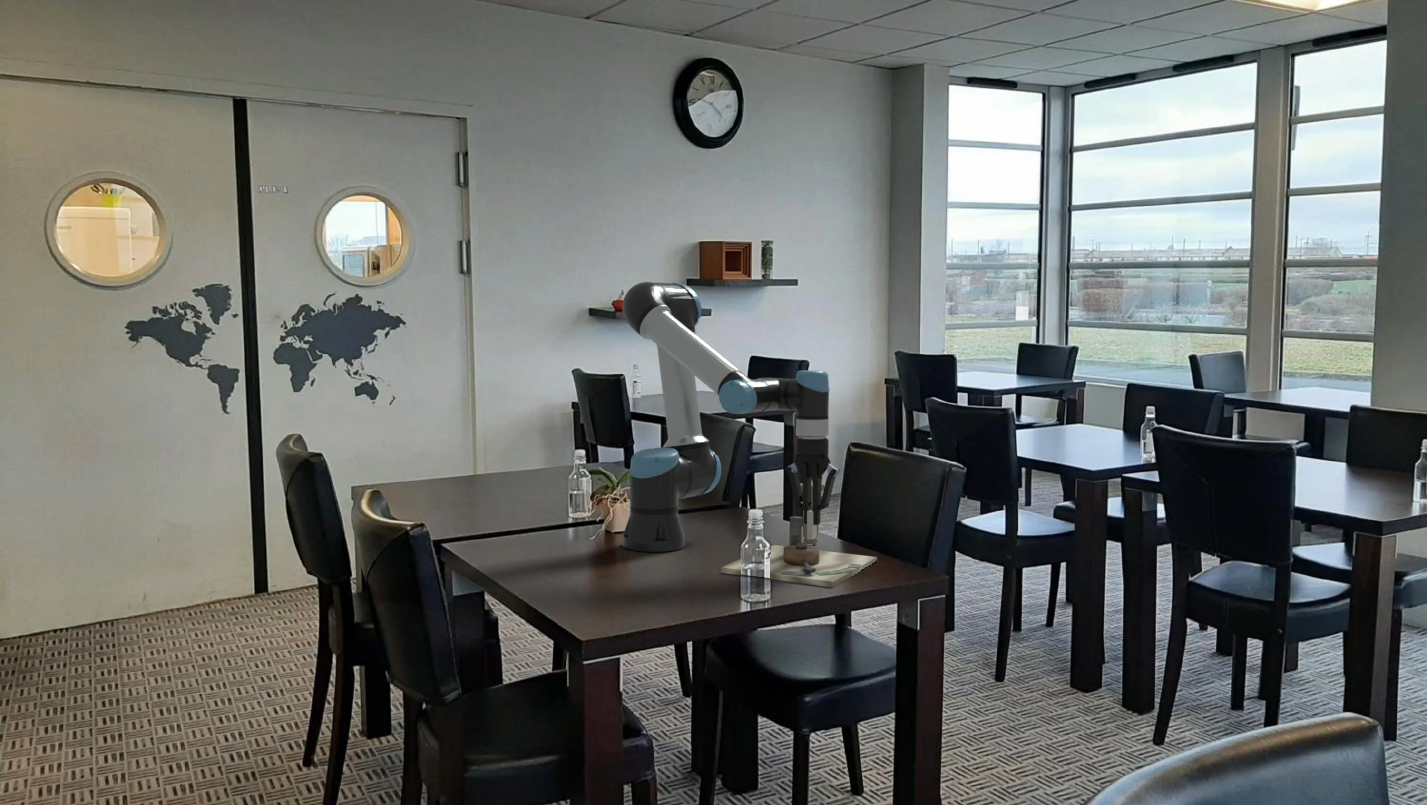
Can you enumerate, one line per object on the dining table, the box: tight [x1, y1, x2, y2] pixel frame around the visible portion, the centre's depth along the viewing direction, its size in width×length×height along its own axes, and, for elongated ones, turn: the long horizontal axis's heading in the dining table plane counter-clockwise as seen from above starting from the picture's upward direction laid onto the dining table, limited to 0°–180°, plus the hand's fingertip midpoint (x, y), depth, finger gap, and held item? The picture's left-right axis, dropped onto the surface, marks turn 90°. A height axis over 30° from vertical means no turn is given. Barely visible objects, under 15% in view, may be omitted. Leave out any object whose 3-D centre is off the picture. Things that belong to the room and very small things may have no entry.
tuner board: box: [720, 544, 878, 588], centre depth 249 cm, size 26×28×1 cm
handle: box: [800, 482, 825, 545], centre depth 274 cm, size 5×6×15 cm
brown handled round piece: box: [783, 516, 820, 573], centre depth 248 cm, size 25×8×8 cm, turn 4°
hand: (811, 538), depth 258 cm, fingers closed
